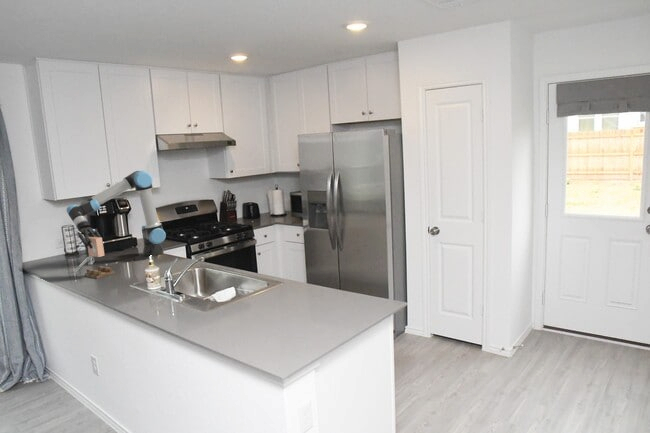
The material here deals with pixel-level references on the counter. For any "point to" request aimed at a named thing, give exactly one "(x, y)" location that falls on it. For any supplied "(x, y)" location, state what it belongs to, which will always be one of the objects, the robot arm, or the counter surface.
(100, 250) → the salmon pink square block
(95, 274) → the rack
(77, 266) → the bracket
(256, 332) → the counter surface
